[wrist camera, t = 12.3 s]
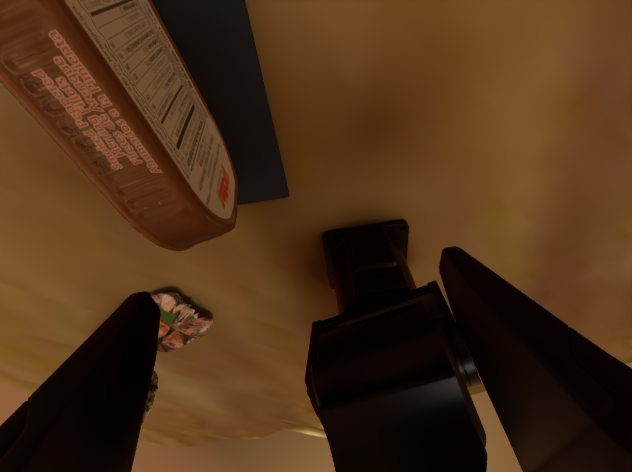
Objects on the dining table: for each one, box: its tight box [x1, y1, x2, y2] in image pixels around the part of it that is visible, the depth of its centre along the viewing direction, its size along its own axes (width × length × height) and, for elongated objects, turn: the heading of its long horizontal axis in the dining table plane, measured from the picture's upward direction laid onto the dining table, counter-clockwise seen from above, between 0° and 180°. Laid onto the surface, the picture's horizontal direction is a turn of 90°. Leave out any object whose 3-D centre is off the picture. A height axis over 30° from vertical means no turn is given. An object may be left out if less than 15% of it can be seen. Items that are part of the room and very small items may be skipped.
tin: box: [0, 0, 238, 251], centre depth 13 cm, size 15×3×8 cm, turn 17°
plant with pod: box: [141, 292, 213, 425], centre depth 23 cm, size 8×11×20 cm
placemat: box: [151, 0, 289, 205], centre depth 16 cm, size 20×10×1 cm, turn 7°
